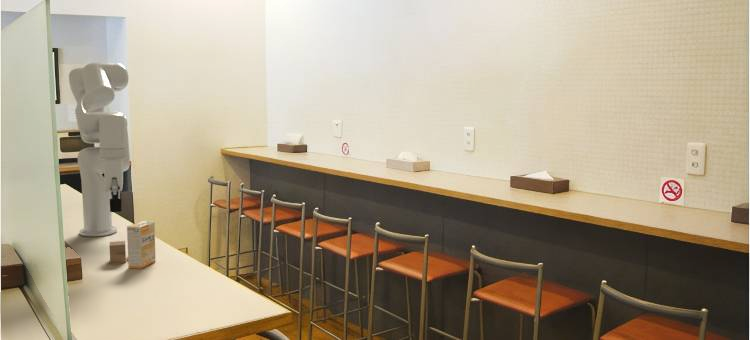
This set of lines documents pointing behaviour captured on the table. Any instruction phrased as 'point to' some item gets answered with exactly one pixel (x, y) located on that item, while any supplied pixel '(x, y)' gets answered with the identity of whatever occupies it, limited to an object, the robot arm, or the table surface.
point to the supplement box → (141, 244)
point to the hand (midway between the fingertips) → (116, 208)
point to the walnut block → (117, 252)
